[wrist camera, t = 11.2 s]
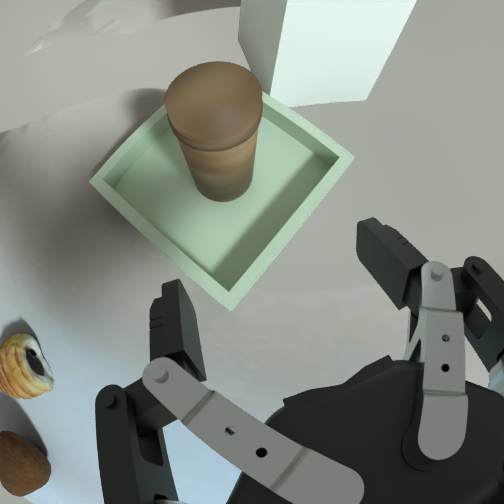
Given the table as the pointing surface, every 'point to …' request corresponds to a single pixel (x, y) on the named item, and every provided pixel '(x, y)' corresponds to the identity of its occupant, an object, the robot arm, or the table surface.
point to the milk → (319, 46)
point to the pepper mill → (217, 126)
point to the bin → (223, 213)
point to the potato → (21, 465)
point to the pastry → (23, 368)
